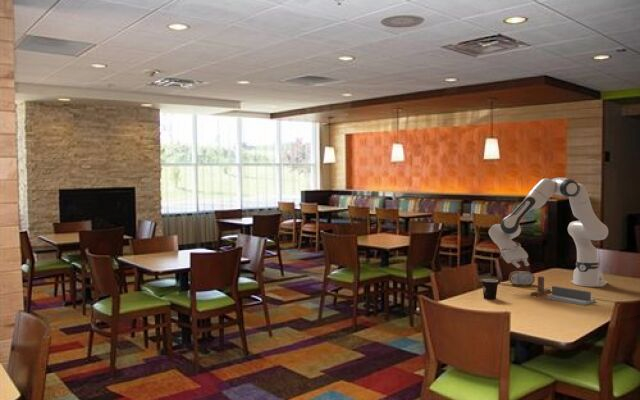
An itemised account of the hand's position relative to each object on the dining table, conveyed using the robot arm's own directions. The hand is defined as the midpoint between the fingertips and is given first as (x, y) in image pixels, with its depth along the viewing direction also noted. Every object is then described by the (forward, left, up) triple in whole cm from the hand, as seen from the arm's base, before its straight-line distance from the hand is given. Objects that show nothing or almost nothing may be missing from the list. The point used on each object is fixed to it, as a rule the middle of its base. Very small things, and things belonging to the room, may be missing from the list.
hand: (523, 266), depth 310 cm
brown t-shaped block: (0, +11, -15) cm, 18 cm away
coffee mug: (+30, -3, -15) cm, 34 cm away
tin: (-15, -9, -15) cm, 23 cm away
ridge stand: (+2, +29, -14) cm, 32 cm away
